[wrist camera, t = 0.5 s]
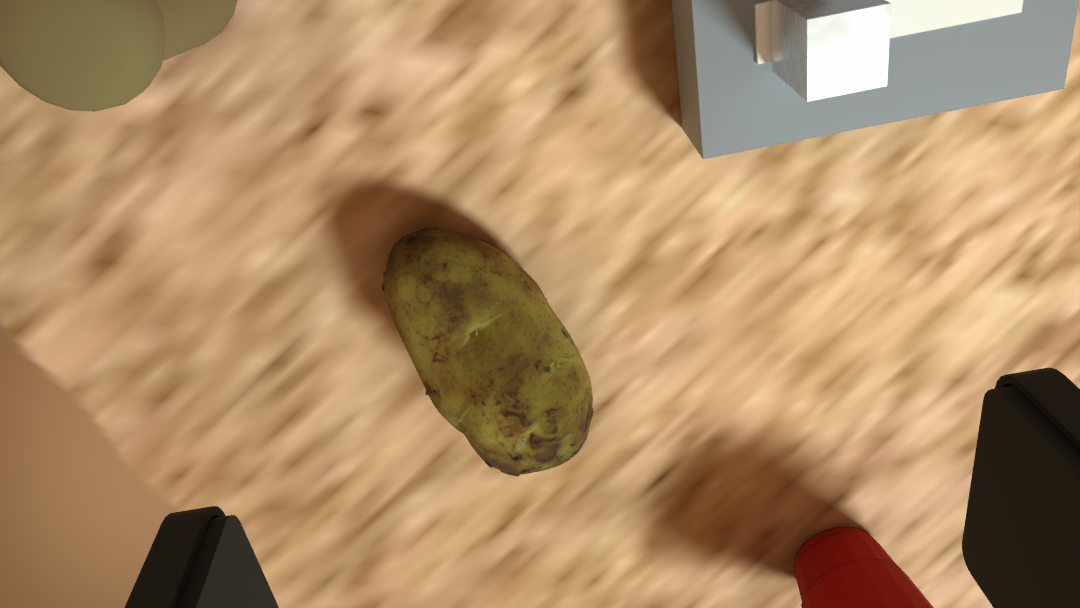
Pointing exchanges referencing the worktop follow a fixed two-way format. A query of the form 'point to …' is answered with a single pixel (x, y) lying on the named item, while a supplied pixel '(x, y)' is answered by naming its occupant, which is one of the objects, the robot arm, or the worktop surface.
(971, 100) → the panel
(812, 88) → the slider knob
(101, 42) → the cork
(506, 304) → the potato
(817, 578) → the plastic cup
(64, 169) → the worktop surface
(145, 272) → the worktop surface
